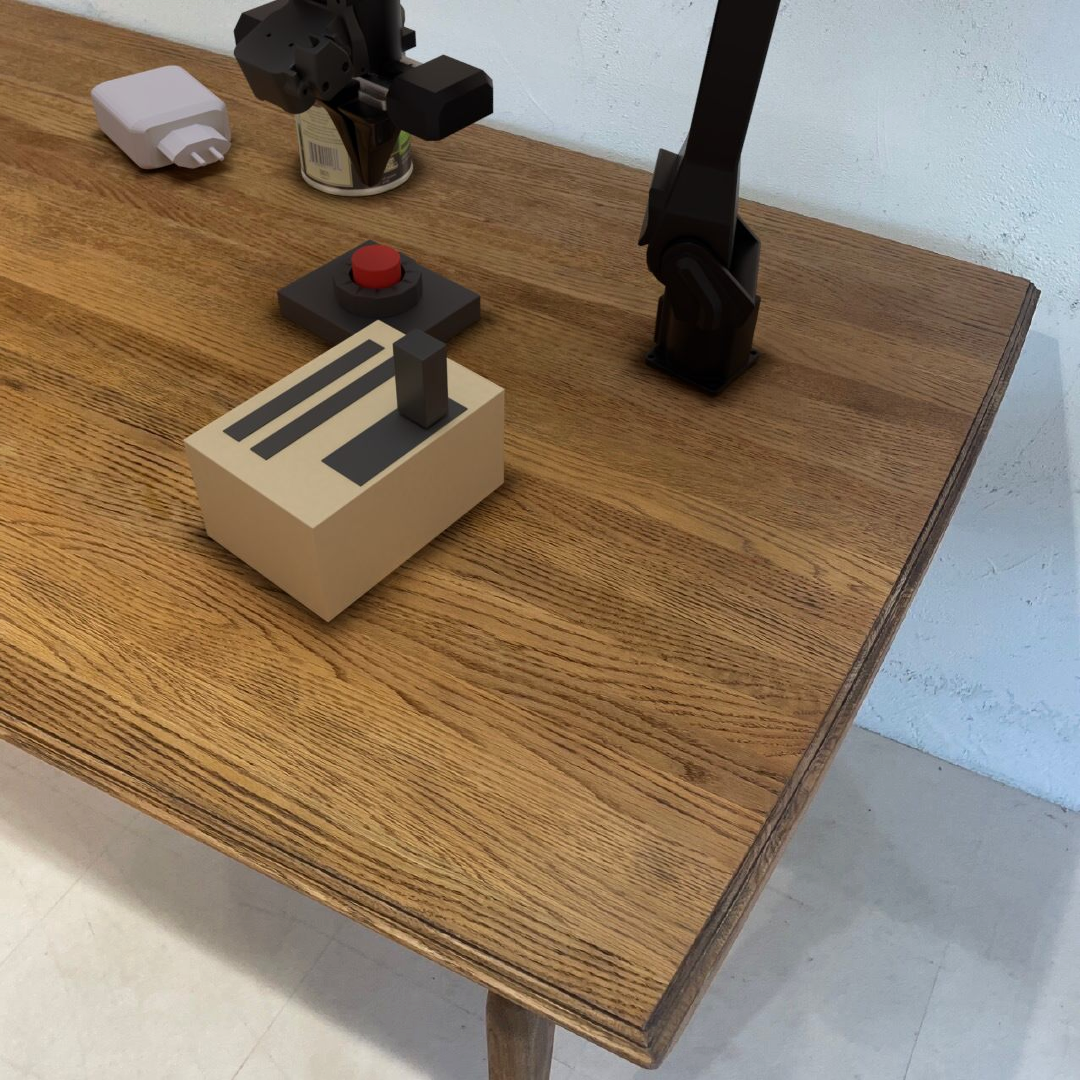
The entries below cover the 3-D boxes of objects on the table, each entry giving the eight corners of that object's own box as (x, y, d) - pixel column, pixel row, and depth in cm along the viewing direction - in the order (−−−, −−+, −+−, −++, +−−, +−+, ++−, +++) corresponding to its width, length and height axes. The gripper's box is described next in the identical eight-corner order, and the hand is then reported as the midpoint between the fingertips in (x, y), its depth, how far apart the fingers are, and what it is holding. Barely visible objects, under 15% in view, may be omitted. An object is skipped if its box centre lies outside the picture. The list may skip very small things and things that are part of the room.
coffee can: (418, 144, 108) (410, -11, 98) (407, 200, 101) (397, 39, 91) (309, 139, 108) (291, -15, 98) (291, 195, 101) (268, 34, 91)
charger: (169, 202, 100) (100, 134, 108) (264, 172, 104) (191, 109, 112) (158, 151, 96) (88, 85, 104) (256, 122, 100) (181, 61, 108)
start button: (411, 276, 86) (410, 256, 85) (377, 296, 84) (375, 276, 83) (377, 258, 88) (375, 238, 87) (343, 278, 86) (341, 258, 85)
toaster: (504, 483, 76) (505, 387, 70) (328, 623, 67) (312, 527, 62) (386, 413, 81) (377, 317, 75) (207, 535, 72) (181, 438, 66)
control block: (481, 318, 89) (480, 274, 86) (390, 378, 84) (387, 333, 81) (372, 262, 94) (368, 218, 91) (280, 314, 89) (272, 270, 86)
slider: (449, 412, 68) (446, 344, 65) (426, 428, 67) (422, 360, 63) (420, 395, 69) (416, 327, 66) (397, 411, 68) (391, 343, 65)
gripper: (145, -56, 69) (194, 182, 80) (363, 31, 61) (384, 281, 72) (284, -99, 75) (312, 127, 86) (499, -26, 67) (499, 213, 78)
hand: (370, 184), depth 81 cm, fingers closed
